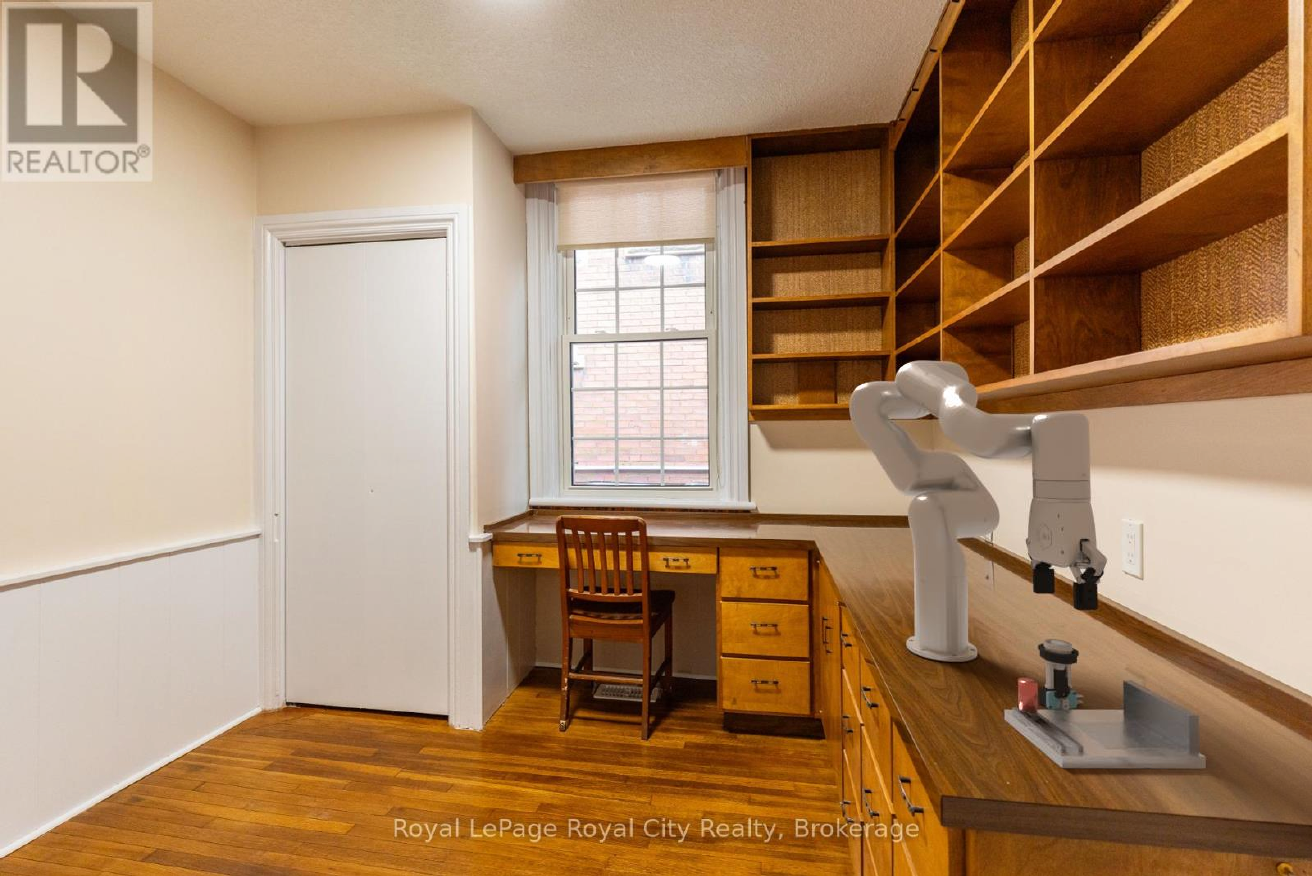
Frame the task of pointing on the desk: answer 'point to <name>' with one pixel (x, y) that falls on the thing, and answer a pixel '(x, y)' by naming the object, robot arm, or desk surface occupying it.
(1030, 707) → the lever
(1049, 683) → the push button
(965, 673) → the desk surface
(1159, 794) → the desk surface
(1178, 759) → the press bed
